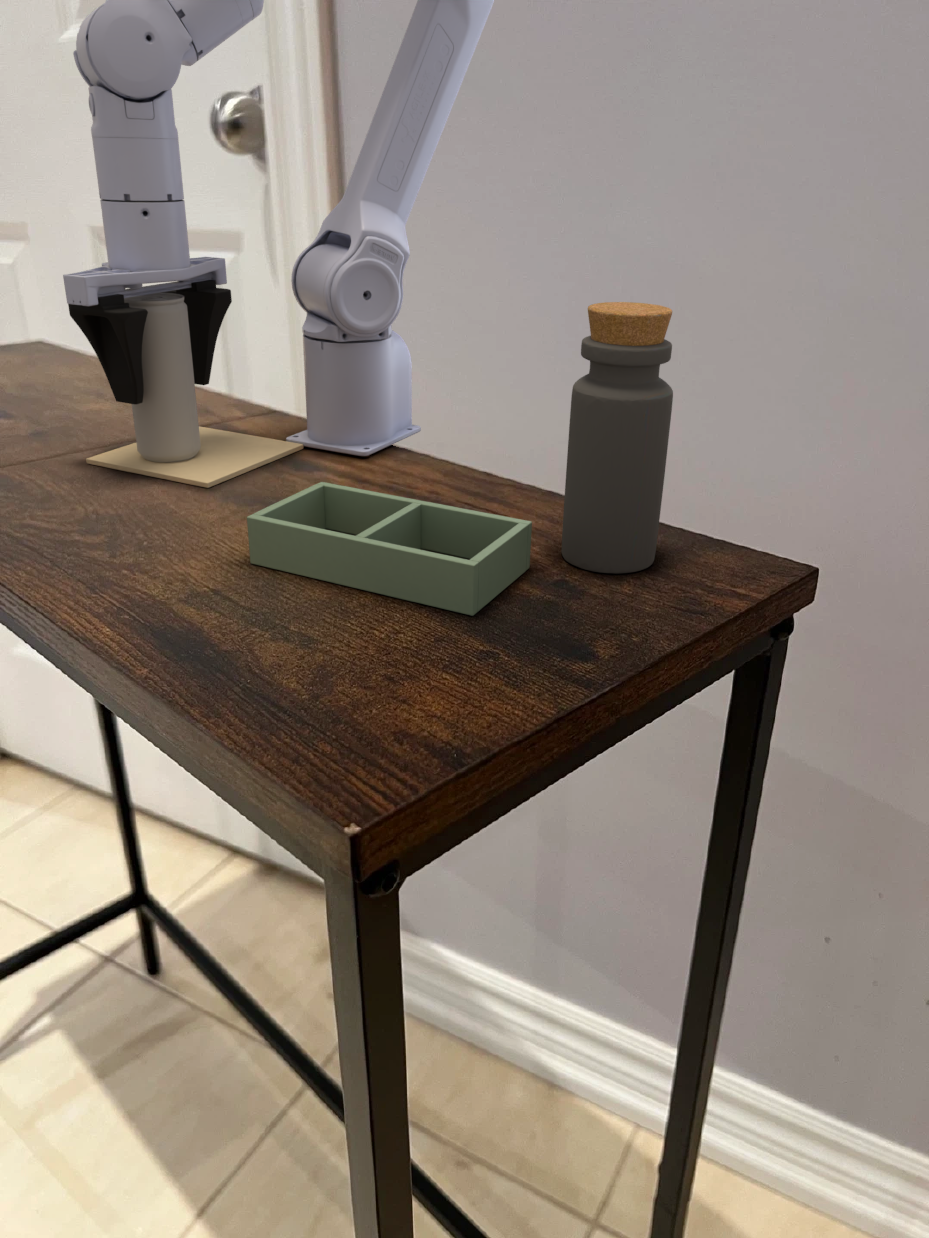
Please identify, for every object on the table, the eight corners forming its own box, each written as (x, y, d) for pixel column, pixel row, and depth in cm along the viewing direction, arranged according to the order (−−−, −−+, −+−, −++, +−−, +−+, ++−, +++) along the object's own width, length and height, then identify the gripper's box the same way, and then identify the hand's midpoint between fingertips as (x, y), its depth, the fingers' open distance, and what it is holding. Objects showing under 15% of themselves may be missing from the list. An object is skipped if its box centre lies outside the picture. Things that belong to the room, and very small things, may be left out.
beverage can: (129, 452, 78) (108, 295, 73) (187, 443, 81) (171, 290, 76) (151, 467, 75) (131, 303, 70) (211, 458, 77) (196, 298, 72)
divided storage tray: (323, 524, 66) (321, 481, 64) (530, 567, 60) (532, 521, 58) (249, 563, 59) (246, 516, 58) (472, 616, 53) (474, 565, 52)
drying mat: (190, 429, 86) (190, 424, 86) (303, 448, 82) (303, 444, 81) (86, 463, 77) (85, 458, 77) (208, 488, 72) (207, 482, 72)
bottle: (608, 533, 65) (629, 297, 59) (674, 561, 61) (705, 310, 55) (541, 551, 62) (555, 304, 56) (606, 582, 58) (629, 319, 51)
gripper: (170, 194, 77) (187, 369, 83) (18, 201, 65) (51, 405, 71) (242, 198, 74) (255, 379, 80) (97, 206, 63) (125, 417, 69)
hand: (164, 392), depth 76 cm, fingers open, 7 cm apart
